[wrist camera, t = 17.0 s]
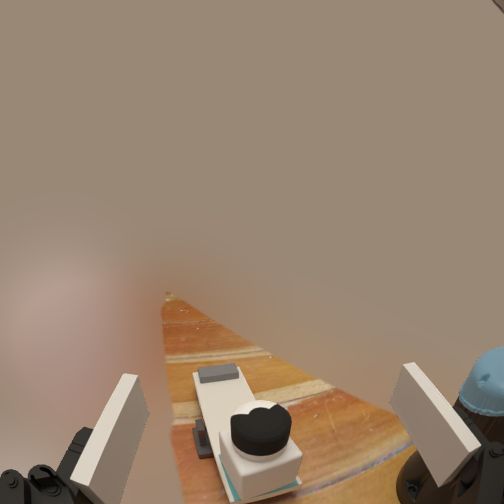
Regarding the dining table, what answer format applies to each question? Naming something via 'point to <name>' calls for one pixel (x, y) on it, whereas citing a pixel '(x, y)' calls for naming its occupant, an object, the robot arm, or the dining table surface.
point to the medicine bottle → (259, 449)
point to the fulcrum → (202, 440)
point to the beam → (226, 416)
